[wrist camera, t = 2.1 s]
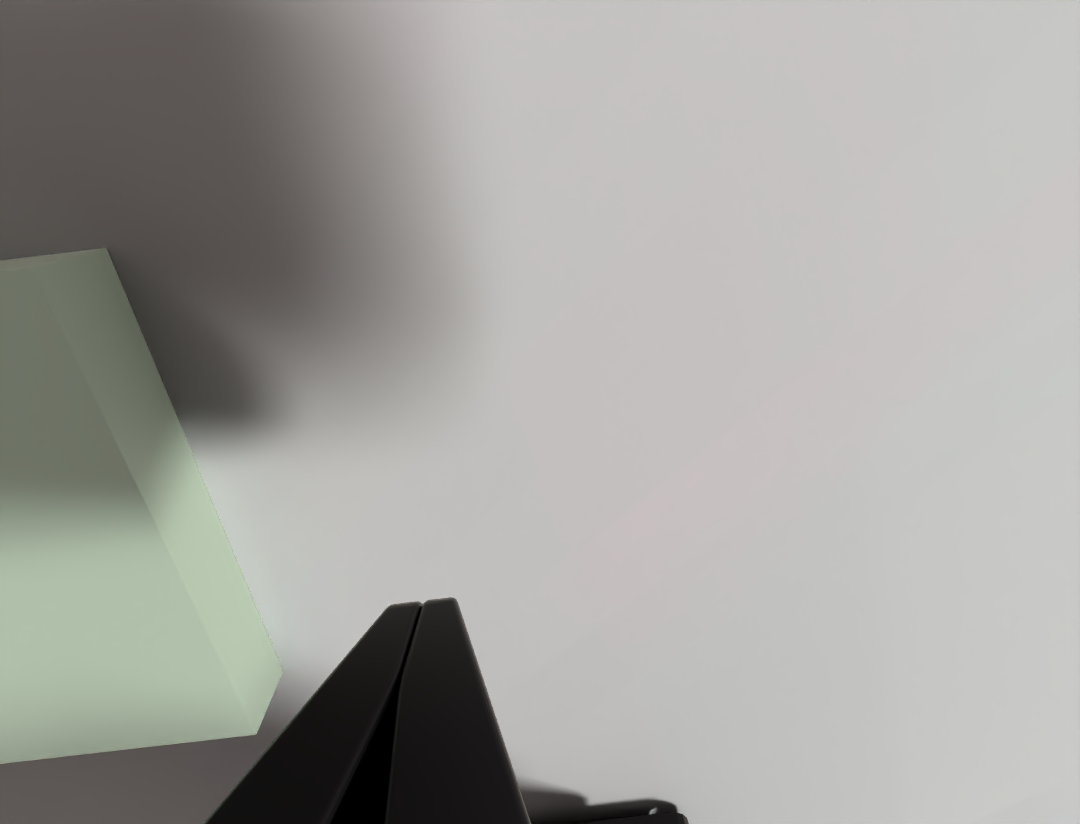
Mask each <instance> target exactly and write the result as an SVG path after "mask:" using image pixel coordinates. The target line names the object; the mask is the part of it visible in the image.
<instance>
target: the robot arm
mask: <svg viewBox="0 0 1080 824" xmlns="http://www.w3.org/2000/svg"><path fill="white" fill-rule="evenodd" d="M204 824H531V822H530V819H529V816H528V813H527V810H526V807H525V804H524V801H523V798H522V795H521V792H520V789H519V786H518V783H517V780H516V777H515V774H514V771H513V768H512V765H511V762H510V759H509V756H508V753H507V750H506V747H505V744H504V741H503V738H502V735H501V732H500V729H499V725H498V722H497V719H496V716H495V713H494V710H493V707H492V704H491V701H490V698H489V695H488V692H487V689H486V686H485V683H484V680H483V677H482V674H481V671H480V668H479V665H478V662H477V659H476V656H475V653H474V650H473V647H472V644H471V641H470V638H469V635H468V632H467V629H466V626H465V623H464V620H463V617H462V614H461V611H460V608H459V605H458V602H457V600H456V599H455V598H442V599H434V600H428V601H426V602H425V603H424V604H422V603H420V602H408V603H400V604H393V605H390V606H389V607H388V608H386V609H385V611H384V612H383V613H382V614H381V615H380V616H379V618H378V619H377V620H376V621H375V622H374V624H373V625H372V626H371V627H370V628H369V629H368V631H367V632H366V633H365V634H364V635H363V637H362V638H361V639H360V640H359V641H358V642H357V644H356V645H355V646H354V647H353V648H352V650H351V651H350V652H349V653H348V654H347V655H346V657H345V658H344V659H343V660H342V661H341V662H340V664H339V665H338V666H337V667H336V668H335V670H334V671H333V672H332V673H331V674H330V675H329V677H328V678H327V679H326V680H325V681H324V683H323V684H322V685H321V686H320V687H319V688H318V690H317V691H316V692H315V693H314V694H313V696H312V697H311V698H310V699H309V700H308V701H307V703H306V704H305V705H304V706H303V707H302V709H301V710H300V711H299V712H298V713H297V714H296V716H295V717H294V718H293V719H292V720H291V722H290V723H289V724H288V725H287V726H286V727H285V729H284V730H283V731H282V732H281V733H280V734H279V736H278V737H277V738H276V739H275V740H274V742H273V743H272V744H271V745H270V746H269V747H268V749H267V750H266V751H265V752H264V753H263V755H262V756H261V757H260V758H259V759H258V760H257V762H256V763H255V764H254V765H253V766H252V768H251V769H250V770H249V771H248V772H247V773H246V775H245V776H244V777H243V778H242V779H241V781H240V782H239V783H238V784H237V785H236V786H235V788H234V789H233V790H232V791H231V792H230V794H229V795H228V796H227V797H226V798H225V799H224V801H223V802H222V803H221V804H220V805H219V806H218V808H217V809H216V810H215V811H214V812H213V814H212V815H211V816H210V817H209V818H208V819H207V821H206V822H205V823H204ZM574 824H689V823H688V820H687V817H685V816H684V815H683V814H679V813H661V814H652V815H644V816H635V817H626V818H618V819H609V820H600V821H592V822H583V823H574Z"/></svg>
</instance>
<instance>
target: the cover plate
mask: <svg viewBox="0 0 1080 824" xmlns="http://www.w3.org/2000/svg"><path fill="white" fill-rule="evenodd" d="M283 671H284V670H283V668H282V665H281V663H280V661H279V658H278V656H277V654H276V651H275V649H274V646H273V644H272V642H271V639H270V637H269V634H268V632H267V630H266V627H265V625H264V623H263V620H262V618H261V615H260V613H259V611H258V608H257V606H256V603H255V601H254V599H253V596H252V594H251V592H250V589H249V587H248V584H247V582H246V580H245V577H244V575H243V572H242V570H241V568H240V565H239V563H238V561H237V558H236V556H235V553H234V551H233V549H232V546H231V544H230V541H229V539H228V537H227V534H226V532H225V530H224V527H223V525H222V522H221V520H220V518H219V515H218V513H217V510H216V508H215V506H214V503H213V501H212V499H211V496H210V494H209V491H208V489H207V487H206V484H205V482H204V479H203V477H202V475H201V472H200V470H199V468H198V465H197V463H196V460H195V458H194V456H193V453H192V451H191V448H190V446H189V444H188V441H187V439H186V437H185V434H184V432H183V429H182V427H181V425H180V422H179V420H178V417H177V415H176V413H175V410H174V408H173V406H172V403H171V401H170V398H169V396H168V394H167V391H166V389H165V386H164V384H163V382H162V379H161V377H160V375H159V372H158V370H157V367H156V365H155V363H154V360H153V358H152V355H151V353H150V351H149V348H148V346H147V344H146V341H145V339H144V336H143V334H142V332H141V329H140V327H139V324H138V322H137V320H136V317H135V315H134V313H133V310H132V308H131V305H130V303H129V301H128V298H127V296H126V293H125V291H124V289H123V286H122V284H121V282H120V279H119V277H118V274H117V272H116V270H115V267H114V265H113V262H112V260H111V258H110V255H109V253H108V251H107V248H99V249H91V250H83V251H74V252H66V253H58V254H49V255H41V256H33V257H24V258H16V259H7V260H0V764H4V763H13V762H22V761H31V760H39V759H48V758H57V757H65V756H74V755H83V754H92V753H100V752H109V751H118V750H127V749H135V748H144V747H153V746H162V745H170V744H179V743H188V742H197V741H205V740H214V739H223V738H232V737H240V736H249V735H256V734H257V732H258V729H259V727H260V725H261V722H262V720H263V718H264V715H265V713H266V711H267V708H268V706H269V704H270V701H271V699H272V697H273V694H274V692H275V690H276V687H277V685H278V683H279V680H280V678H281V676H282V673H283Z"/></svg>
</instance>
